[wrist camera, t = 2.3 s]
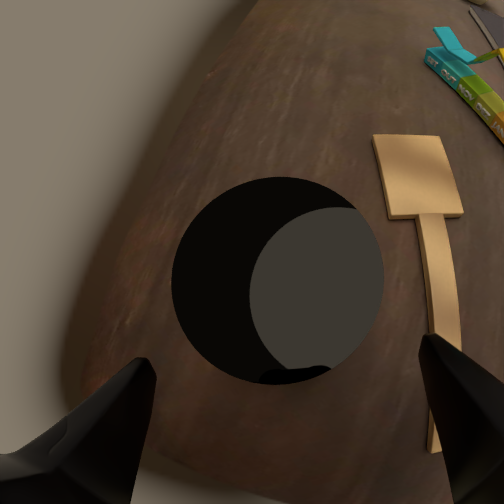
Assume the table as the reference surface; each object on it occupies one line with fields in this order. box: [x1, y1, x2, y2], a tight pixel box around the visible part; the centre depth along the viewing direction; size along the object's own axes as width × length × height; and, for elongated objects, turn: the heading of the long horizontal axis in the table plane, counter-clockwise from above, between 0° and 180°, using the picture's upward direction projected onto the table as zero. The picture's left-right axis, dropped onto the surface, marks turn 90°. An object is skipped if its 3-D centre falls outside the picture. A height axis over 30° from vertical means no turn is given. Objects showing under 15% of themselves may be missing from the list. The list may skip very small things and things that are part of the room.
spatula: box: [372, 134, 464, 453], centre depth 17 cm, size 23×6×1 cm, turn 0°
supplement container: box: [171, 177, 384, 385], centre depth 14 cm, size 7×7×10 cm
